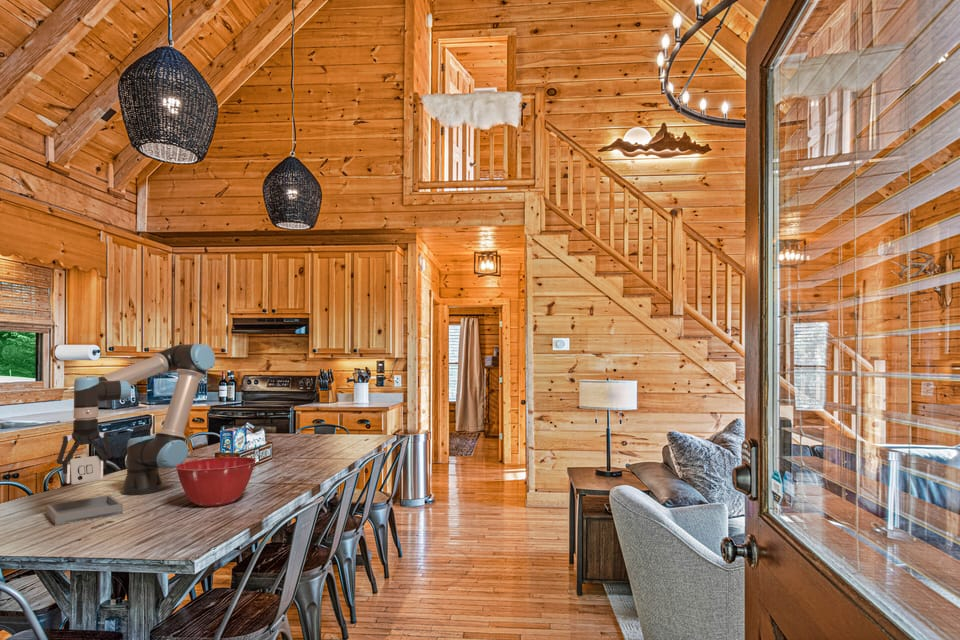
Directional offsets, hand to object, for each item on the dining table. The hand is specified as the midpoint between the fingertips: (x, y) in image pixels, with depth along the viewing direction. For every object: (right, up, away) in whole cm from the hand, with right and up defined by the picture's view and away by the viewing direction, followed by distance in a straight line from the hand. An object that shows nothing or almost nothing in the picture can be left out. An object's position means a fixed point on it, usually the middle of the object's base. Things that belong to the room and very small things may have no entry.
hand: (84, 480), depth 214 cm
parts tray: (0, -12, -1) cm, 12 cm away
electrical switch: (0, -1, 0) cm, 1 cm away
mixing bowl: (+42, -12, +13) cm, 46 cm away
